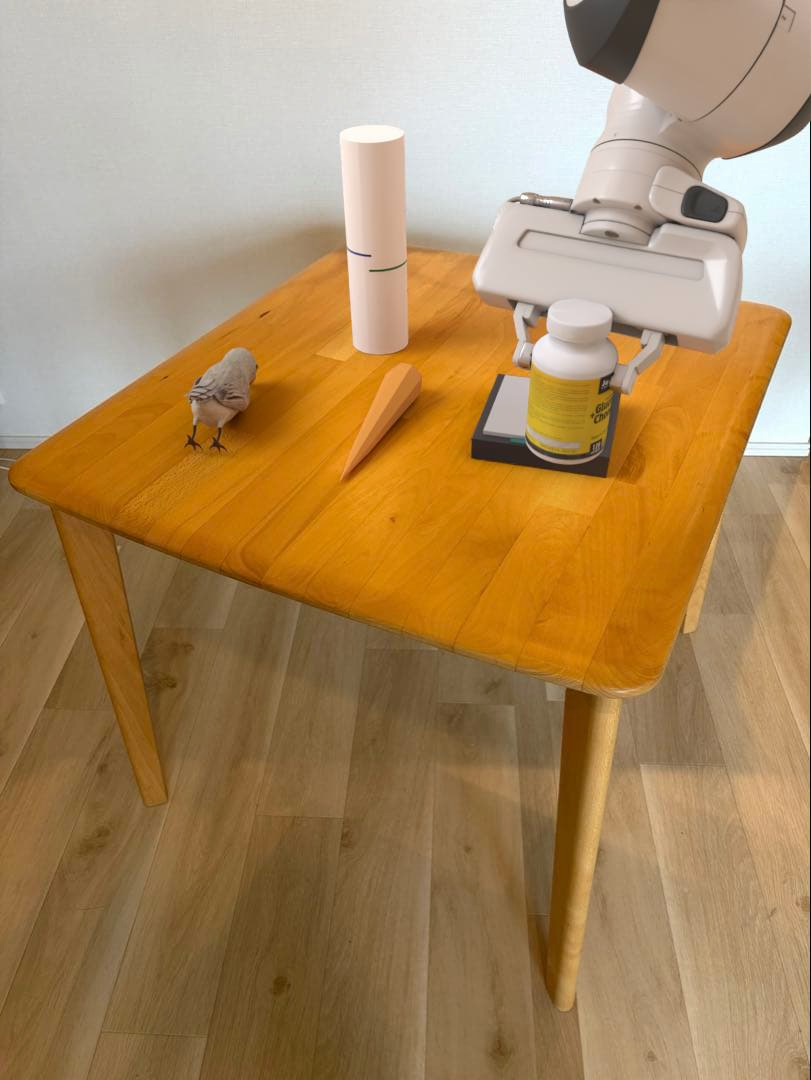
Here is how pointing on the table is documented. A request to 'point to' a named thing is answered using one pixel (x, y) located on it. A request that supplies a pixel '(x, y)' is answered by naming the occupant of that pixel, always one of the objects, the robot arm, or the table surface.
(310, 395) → the table surface
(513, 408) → the scale
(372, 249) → the cylindrical container
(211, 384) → the decorative bird
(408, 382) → the carrot
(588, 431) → the pill bottle
